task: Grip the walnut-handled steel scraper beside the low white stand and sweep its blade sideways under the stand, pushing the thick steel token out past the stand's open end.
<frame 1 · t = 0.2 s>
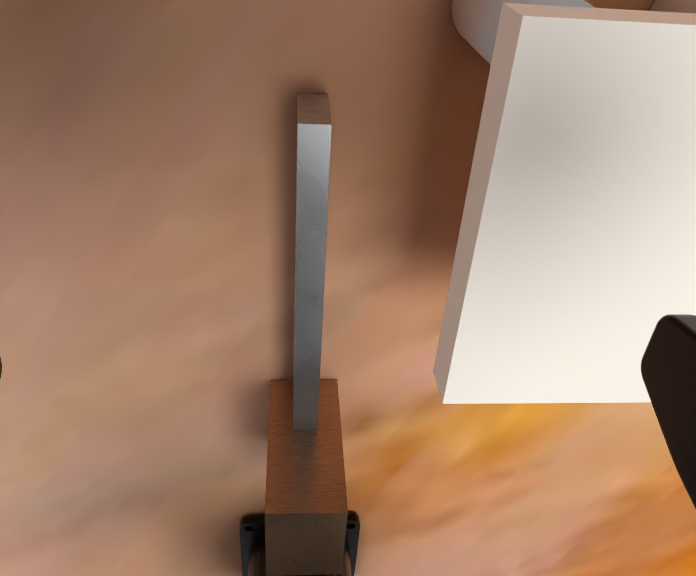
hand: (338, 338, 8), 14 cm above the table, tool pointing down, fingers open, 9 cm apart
low stand: (637, 147, 22), on the table
scraper: (303, 410, 29), on the table
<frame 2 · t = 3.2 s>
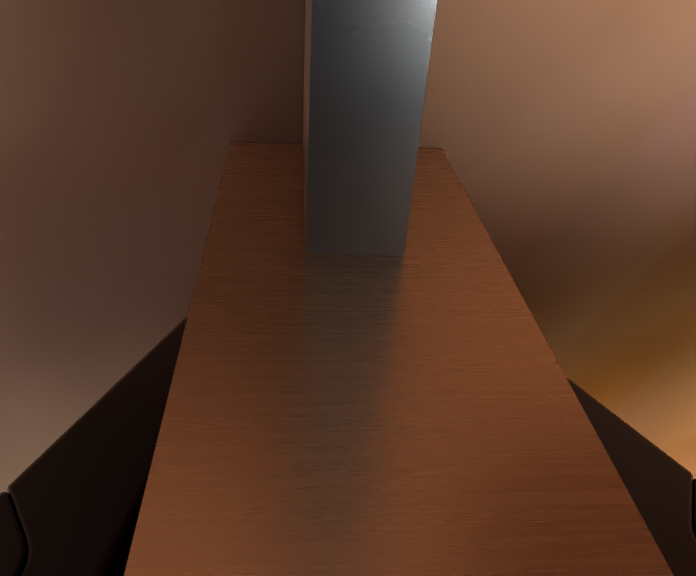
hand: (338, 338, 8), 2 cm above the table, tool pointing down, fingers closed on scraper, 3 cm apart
scraper: (331, 265, 10), on the table, touching gripper
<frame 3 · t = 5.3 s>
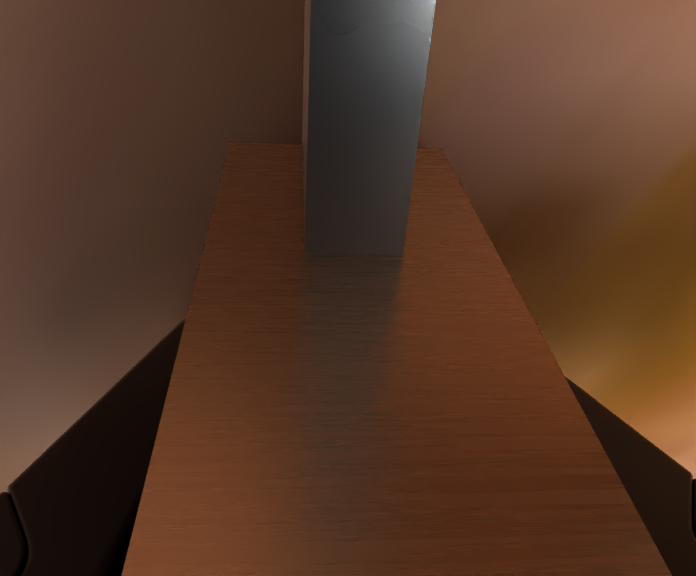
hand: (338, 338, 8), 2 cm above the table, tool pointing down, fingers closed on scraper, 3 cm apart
scraper: (331, 265, 10), on the table, touching gripper
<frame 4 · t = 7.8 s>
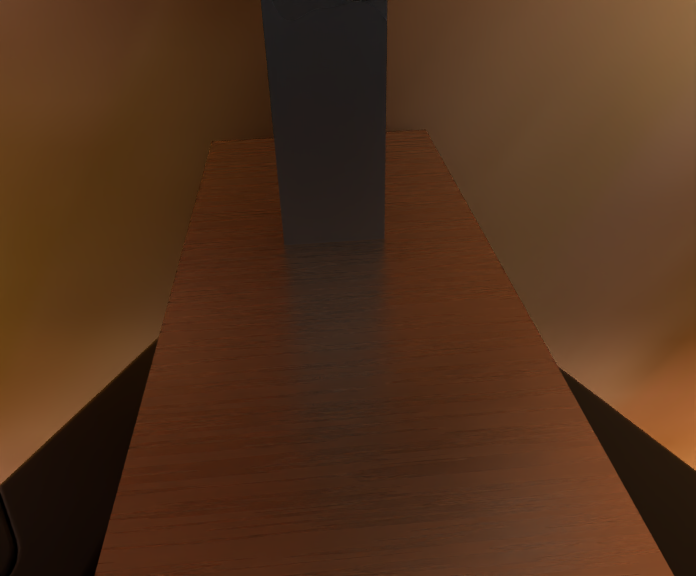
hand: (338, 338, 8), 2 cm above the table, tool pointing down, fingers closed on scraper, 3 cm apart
scraper: (326, 257, 10), point 1 cm above the table, touching gripper
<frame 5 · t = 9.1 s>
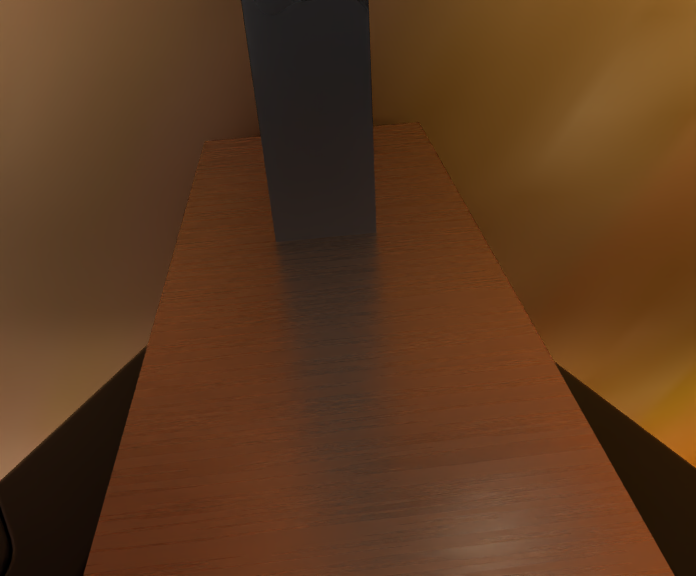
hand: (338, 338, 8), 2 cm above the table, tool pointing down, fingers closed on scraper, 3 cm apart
scraper: (324, 254, 10), point 1 cm above the table, touching gripper, token
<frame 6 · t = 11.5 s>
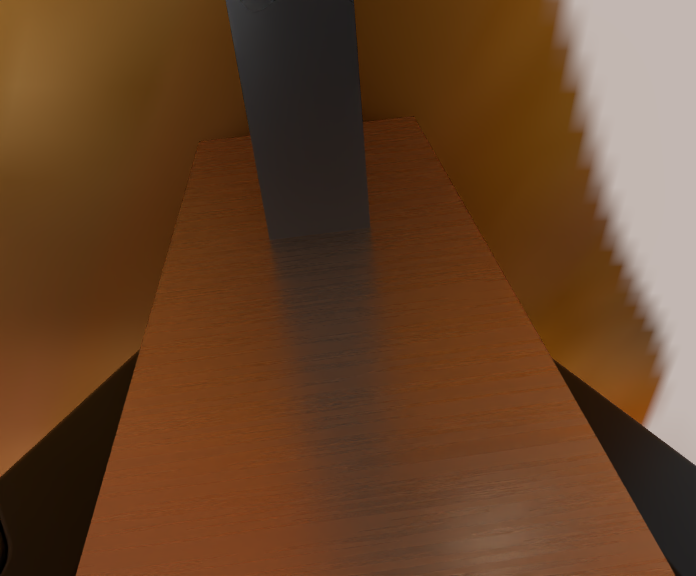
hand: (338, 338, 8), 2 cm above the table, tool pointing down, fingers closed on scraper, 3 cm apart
scraper: (322, 251, 10), on the table, touching gripper, token
when the fingers open (2 cm above the table, at t = 12.7 s): scraper stays where it is, on the table.
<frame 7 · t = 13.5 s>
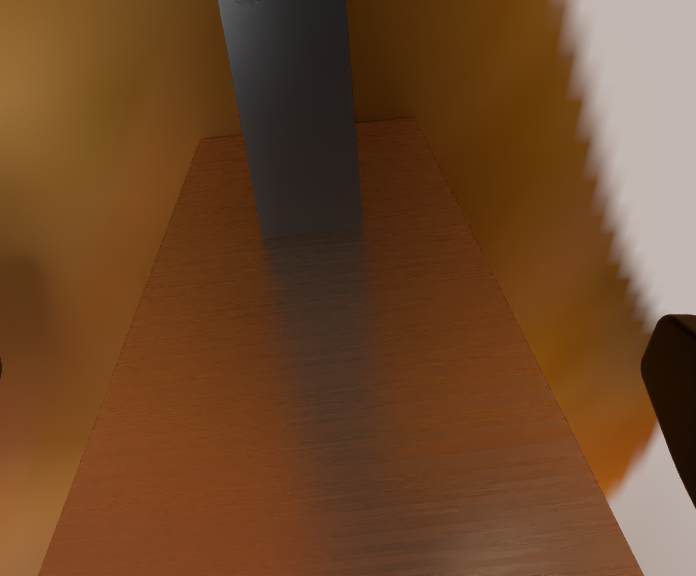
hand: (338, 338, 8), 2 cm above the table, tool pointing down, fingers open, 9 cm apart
scraper: (322, 251, 10), on the table
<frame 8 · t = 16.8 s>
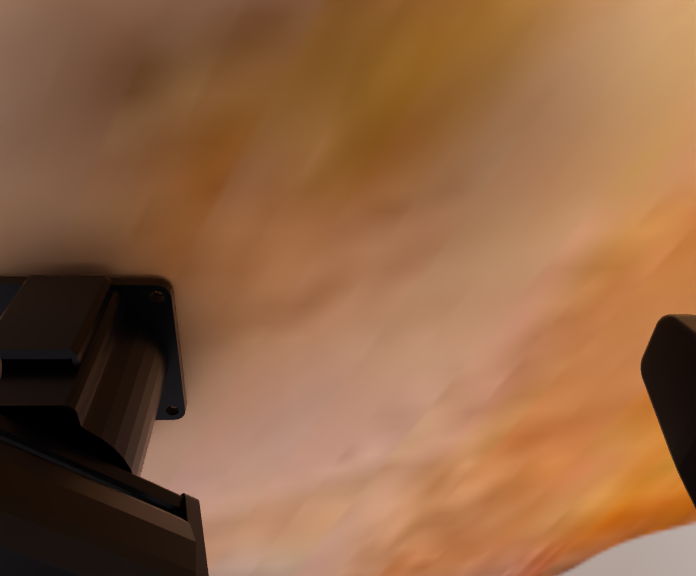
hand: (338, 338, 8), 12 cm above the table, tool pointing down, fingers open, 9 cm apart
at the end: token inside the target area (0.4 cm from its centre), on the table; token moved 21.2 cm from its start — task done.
